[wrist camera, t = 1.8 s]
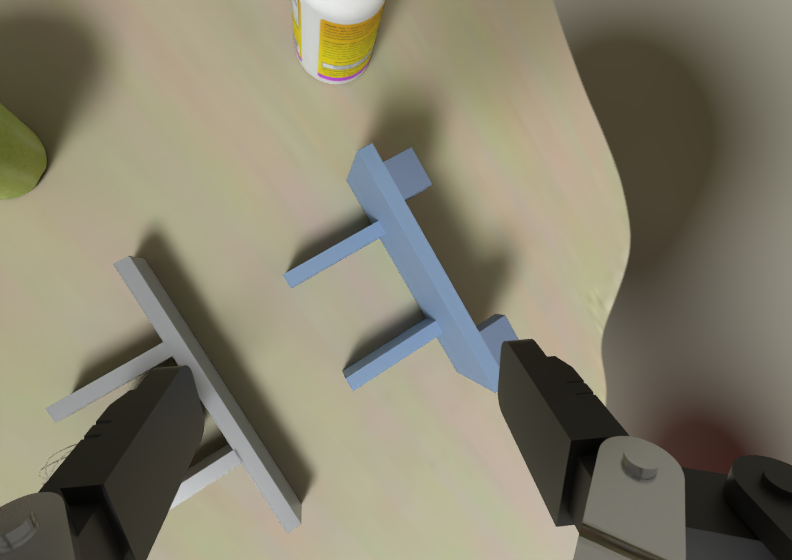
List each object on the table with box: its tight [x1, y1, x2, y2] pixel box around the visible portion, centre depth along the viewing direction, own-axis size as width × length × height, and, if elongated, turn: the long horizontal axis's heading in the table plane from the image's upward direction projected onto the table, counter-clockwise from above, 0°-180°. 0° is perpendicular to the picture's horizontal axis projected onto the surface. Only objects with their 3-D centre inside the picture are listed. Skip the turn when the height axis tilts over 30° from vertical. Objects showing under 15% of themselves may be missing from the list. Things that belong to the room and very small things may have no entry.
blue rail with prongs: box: [283, 143, 519, 393], centre depth 33 cm, size 12×20×8 cm, turn 30°
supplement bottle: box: [292, 0, 386, 85], centre depth 30 cm, size 7×7×13 cm
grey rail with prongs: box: [46, 256, 302, 534], centre depth 32 cm, size 10×24×3 cm, turn 30°
